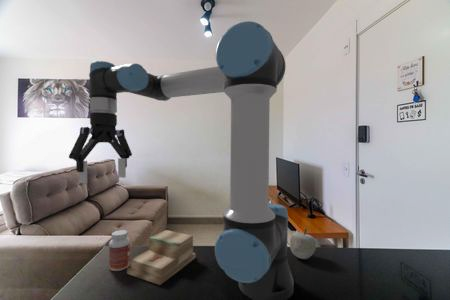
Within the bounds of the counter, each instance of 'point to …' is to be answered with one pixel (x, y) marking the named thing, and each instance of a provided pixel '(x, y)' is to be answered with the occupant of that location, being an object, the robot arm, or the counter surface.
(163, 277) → the stand
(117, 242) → the pill bottle
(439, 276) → the counter surface
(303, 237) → the decorative object
